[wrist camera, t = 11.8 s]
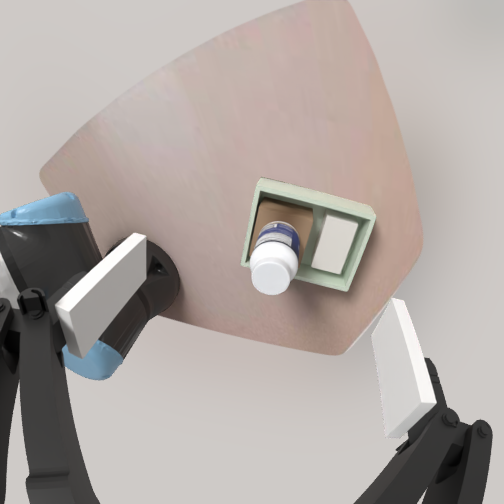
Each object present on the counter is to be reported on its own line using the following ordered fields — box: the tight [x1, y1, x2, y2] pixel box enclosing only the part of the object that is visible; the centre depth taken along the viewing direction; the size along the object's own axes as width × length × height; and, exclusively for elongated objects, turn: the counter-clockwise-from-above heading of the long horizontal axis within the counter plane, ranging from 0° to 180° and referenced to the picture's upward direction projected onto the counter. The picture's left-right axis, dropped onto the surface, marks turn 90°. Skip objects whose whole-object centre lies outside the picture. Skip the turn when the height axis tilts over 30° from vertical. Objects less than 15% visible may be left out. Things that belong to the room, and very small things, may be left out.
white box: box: [311, 209, 358, 274], centre depth 42 cm, size 4×8×3 cm, turn 169°
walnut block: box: [249, 196, 313, 268], centre depth 41 cm, size 7×7×5 cm
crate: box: [240, 177, 376, 292], centre depth 42 cm, size 16×12×4 cm
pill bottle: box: [250, 221, 300, 295], centre depth 35 cm, size 5×5×10 cm
